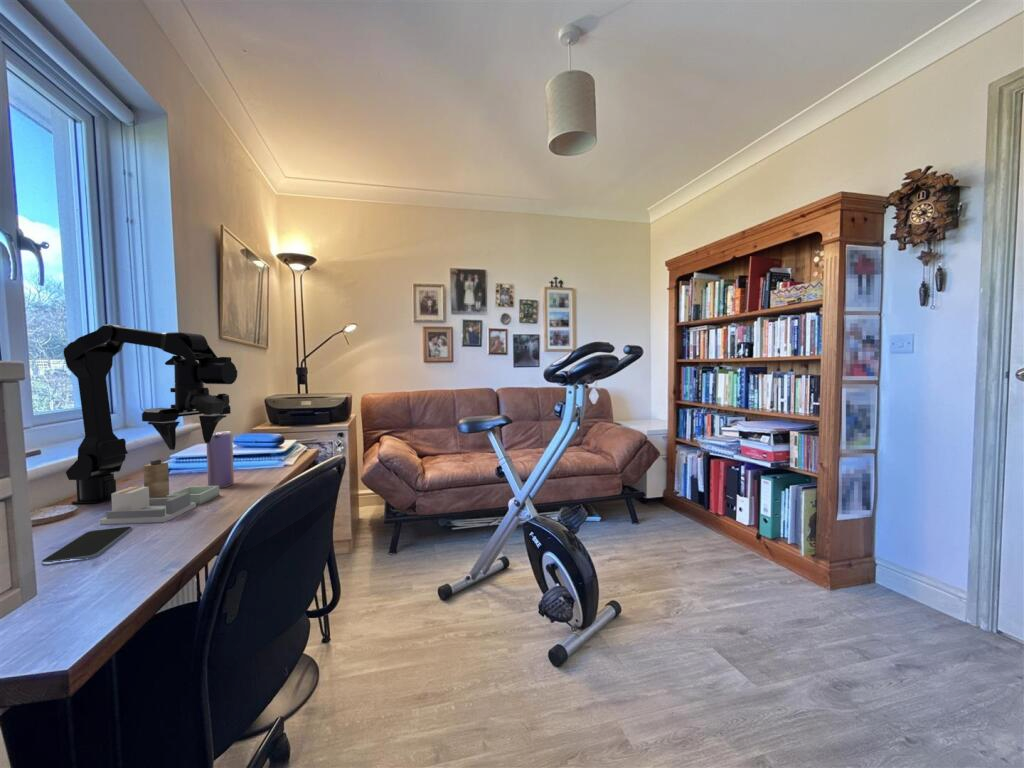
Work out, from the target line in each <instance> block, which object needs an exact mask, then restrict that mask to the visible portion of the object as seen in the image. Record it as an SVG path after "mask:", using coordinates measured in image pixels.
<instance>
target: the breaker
mask: <svg viewBox="0 0 1024 768" xmlns="http://www.w3.org/2000/svg"><path fill="white" fill-rule="evenodd" d="M111 497H112V498H111V510H134V509H142V508H145V507H147V506H149V505H150V504H149V487H144V486H142V485H137V486H129V487H126V488H124V489H121V490H117V491H116V492H115V493H112V494H111Z"/></svg>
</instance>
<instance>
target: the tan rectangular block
mask: <svg viewBox="0 0 1024 768" xmlns="http://www.w3.org/2000/svg"><path fill="white" fill-rule="evenodd" d="M169 475H170V474H169V461H167V462H165V461H162V459H161V458H160V459H159V458H158V459H151V460H150V463H148V464H145V465H143V484H144V485H143V487H149V498H167V495H169V494H170V481H169V480H170V479H169V478H170V476H169Z"/></svg>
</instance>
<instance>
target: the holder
mask: <svg viewBox="0 0 1024 768" xmlns="http://www.w3.org/2000/svg"><path fill="white" fill-rule="evenodd" d="M189 492H190V503H191V502H196V506H201V505H203V504H205V503H206V502H209V501H211V500H213V499H215V498H217V497H218V496H220V488H219V486H208V485H198V486H197V485H193V486H186V487H183V488H181V489H179V490H176V491H173V492H172V493H169V495H167V498H168V497H175V496H178V495H180V494H182V493H189Z"/></svg>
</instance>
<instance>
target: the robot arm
mask: <svg viewBox="0 0 1024 768" xmlns="http://www.w3.org/2000/svg"><path fill="white" fill-rule="evenodd" d="M124 344H132V345H133V344H134V345H138V346H139V345H140V346H146V347H151V348H157V349H160V350H162V351H163V352H165V353H168V354H171V355H172V357H171V358H169V359H167V360H166V361H165V362H164V364H165V365H166V366H174V387H170V390H169V391H170V393H174V404H170V407H169V408H168V407H156V408H155V407H154V408H145V409H144V410H143V412H142V413H141V421H142V422H147V424H148V425H150V426H151V425H152V426H153V428H154V429H155V430H156V431H157V433H158V434H159V435H160V437H161V439H163V441H164V443H165V445H166V446H167V448H168V449H169V450H170V451H174V450H175V449H176V444H177V438H176V432H177V431H176V429H177V427H178V425H179V424H180V423H181V422H180V421H177V420H178V419H179V417H188V416H195V415H198V418H199V422H200V426H201V427H200V429H201V432H202V439H203V441H204V443H205V444H206V443H209V442H210V440H211V438H212V435H213V432H215V430H216V428H217V426H218V423H219V422H220V421H221V420H222V419H224V418H227V415H230V414H231V406H230V396H229V394H228V393H218V394H217V395H212V394H210V389H209V387H204V386H205V385H204V384H206V385H232V384H233V383H235V382H236V380H237V378H238V370H237V367H236V365H235V363H233V362H232V357H230V356H219V357H218V356H217V354H215V352H214V351H213V349H212V348H211V347H210V345H209V343H208V340H207V339H206V338H205V336H204V335H203V334H198V333H192V332H191V333H190V332H188V333H187V332H180V331H179V332H177V331H176V332H175V331H172V332H171V331H170V332H157V331H152V330H145V329H138V328H134V327H133V328H131V327H127V326H125V325H118V324H104V325H102V326H100V327H99V328H97V329H96V330H95V331H92V332H89V333H86V334H85V335H82V336H80V337H78V338H76V339H75V340H74V341H71V342H70V343H68V344H67V345H66V346H65V347H64V349H63V356H64V361H65V364H66V366H67V367H66V368H67V369H68V370H69V371H70V372H71V373H72V374H73V375H74V376H75V377H76V379H77V382H78V390H79V399H80V406H81V412H82V413H81V414H82V421H83V427H84V428H83V429H84V438H83V439H82V441H81V443H80V445H79V446H78V448H77V460H75V462H74V463H72V465H70V467H69V468H68V469H67V470H66V471H65V474H66V477H67V479H68V480H69V481H75V482H76V483H75V484H76V485H75V486H76V500H75V499H74V500H72V501H70V504H75V505H76V504H78V505H79V504H100V503H102V502H105V501H108V500H112V497H111V494H112V493H115V492H117V482H116V481H117V480H116V479H115V473H119V472H120V471H121V469H122V466H123V463H124V462H125V460H126V455H128V454H129V453H128V450H127V447H126V443H127V441H126V440H125V438H118V436H117V435H115V433H114V431H113V422H112V415H111V408H110V399H109V391H108V384H107V383H108V382H107V376H108V374H109V373H110V371H111V370H112V368H113V362H114V361H113V360H114V357H115V356H116V355H118V354H119V353H120V352H121V351H122V349H123V346H124Z"/></svg>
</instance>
